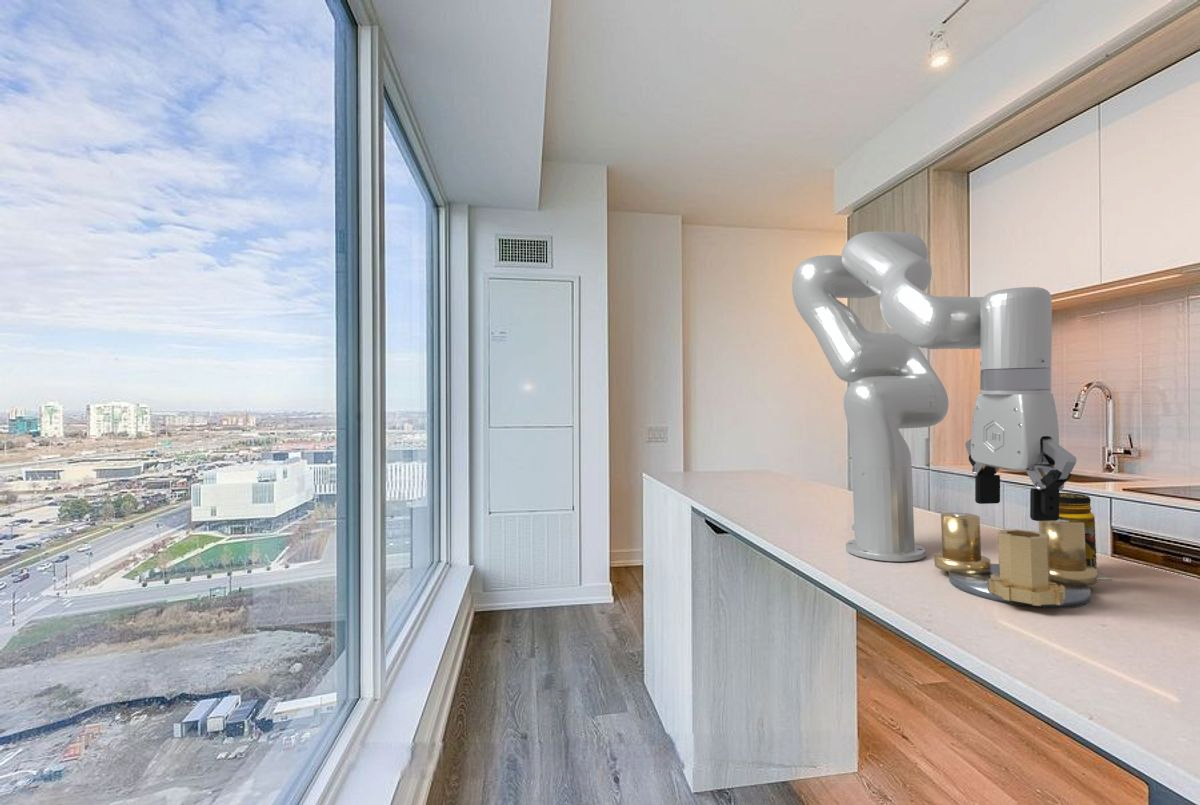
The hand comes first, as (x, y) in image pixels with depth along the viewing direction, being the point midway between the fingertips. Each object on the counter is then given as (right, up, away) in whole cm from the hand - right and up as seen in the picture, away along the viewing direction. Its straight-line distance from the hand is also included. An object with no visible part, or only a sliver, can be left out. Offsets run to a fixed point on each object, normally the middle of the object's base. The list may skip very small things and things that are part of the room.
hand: (1014, 511), depth 73 cm
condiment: (+16, -12, +11) cm, 23 cm away
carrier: (+5, -12, +6) cm, 14 cm away
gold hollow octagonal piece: (0, -11, -1) cm, 11 cm away
